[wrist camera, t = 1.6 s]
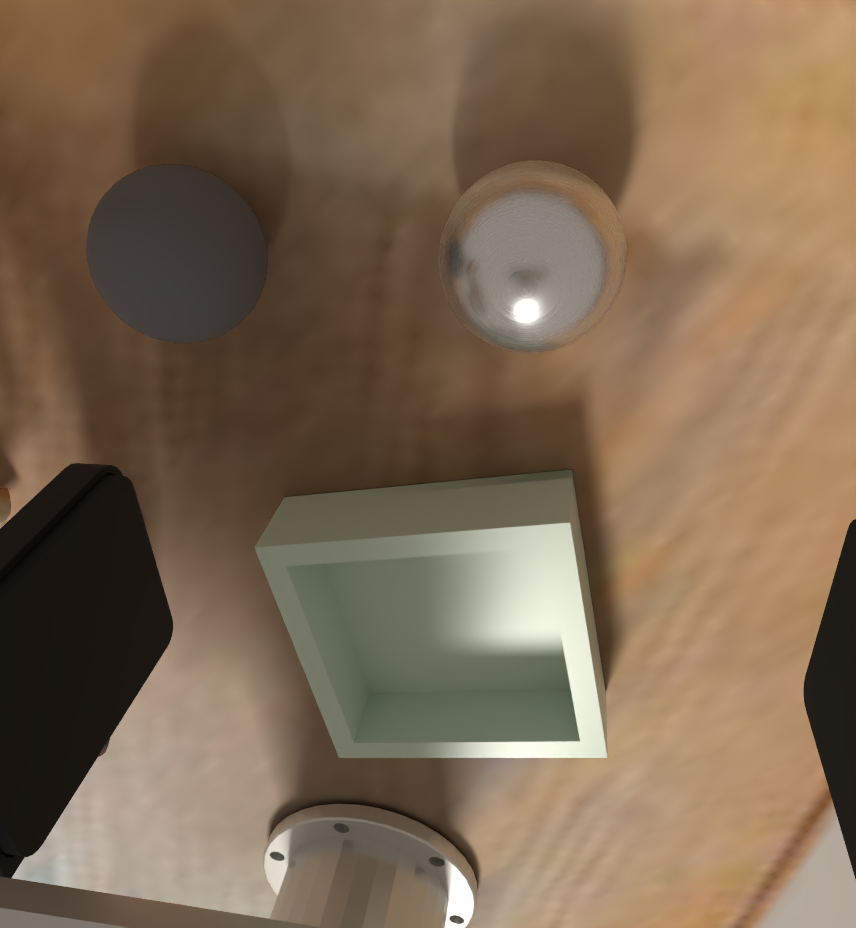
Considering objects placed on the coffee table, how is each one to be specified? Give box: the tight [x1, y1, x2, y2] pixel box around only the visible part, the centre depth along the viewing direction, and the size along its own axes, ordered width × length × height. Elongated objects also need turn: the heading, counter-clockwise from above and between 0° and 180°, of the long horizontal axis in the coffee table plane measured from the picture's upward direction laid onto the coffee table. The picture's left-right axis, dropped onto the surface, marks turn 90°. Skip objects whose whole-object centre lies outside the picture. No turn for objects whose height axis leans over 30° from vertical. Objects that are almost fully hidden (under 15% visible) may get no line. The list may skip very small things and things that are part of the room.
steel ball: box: [439, 160, 627, 354], centre depth 23 cm, size 6×6×6 cm
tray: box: [254, 470, 607, 758], centre depth 33 cm, size 12×12×4 cm
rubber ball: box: [86, 165, 267, 343], centre depth 25 cm, size 6×6×6 cm
